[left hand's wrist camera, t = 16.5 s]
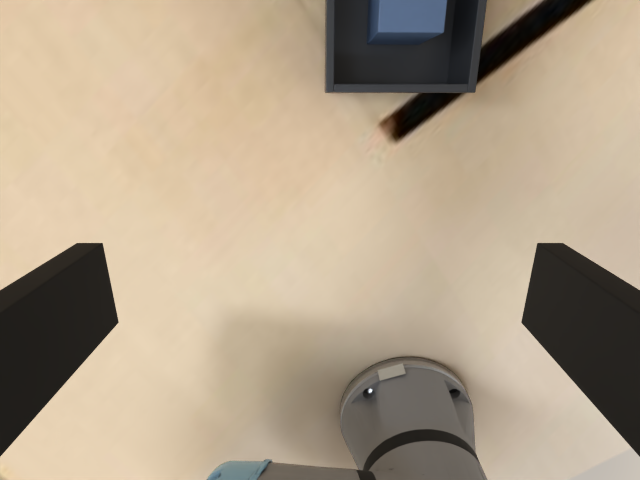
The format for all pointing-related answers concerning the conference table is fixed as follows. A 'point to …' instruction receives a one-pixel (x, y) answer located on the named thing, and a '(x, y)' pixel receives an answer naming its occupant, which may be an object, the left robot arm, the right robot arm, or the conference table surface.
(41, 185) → the conference table surface
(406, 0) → the block
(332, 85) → the tray
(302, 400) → the conference table surface
